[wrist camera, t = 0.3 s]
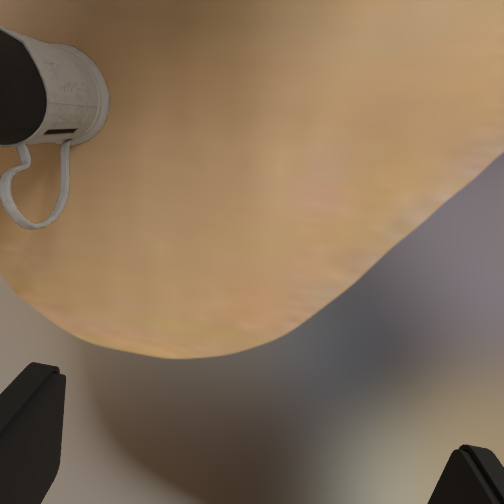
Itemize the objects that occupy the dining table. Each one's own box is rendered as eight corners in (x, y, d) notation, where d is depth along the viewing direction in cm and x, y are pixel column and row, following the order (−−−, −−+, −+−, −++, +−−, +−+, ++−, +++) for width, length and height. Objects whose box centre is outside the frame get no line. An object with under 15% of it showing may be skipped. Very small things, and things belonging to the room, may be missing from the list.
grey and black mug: (87, 30, 35) (-35, -34, 20) (143, 187, 39) (75, 225, 25) (-3, 59, 35) (-180, 17, 21) (61, 209, 40) (-51, 259, 25)
